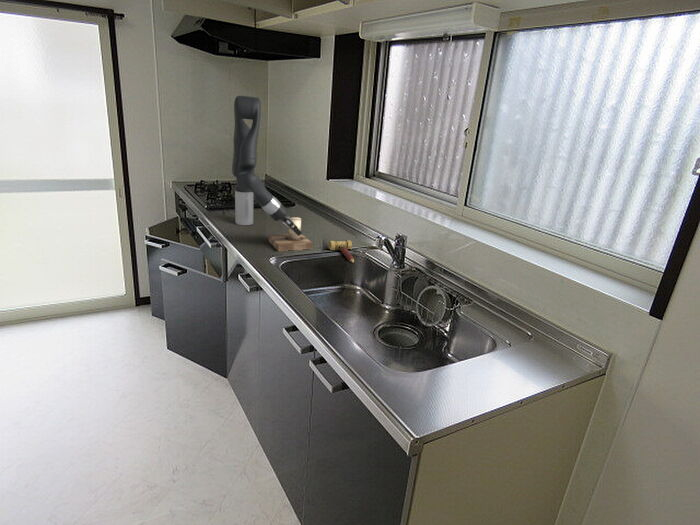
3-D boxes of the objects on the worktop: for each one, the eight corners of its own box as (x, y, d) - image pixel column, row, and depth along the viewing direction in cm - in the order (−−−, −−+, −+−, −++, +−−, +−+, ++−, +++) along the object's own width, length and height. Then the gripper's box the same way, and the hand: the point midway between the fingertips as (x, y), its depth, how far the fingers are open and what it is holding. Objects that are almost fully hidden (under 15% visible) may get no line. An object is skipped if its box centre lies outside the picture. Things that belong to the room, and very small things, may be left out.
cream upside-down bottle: (286, 242, 209) (287, 217, 205) (297, 241, 211) (298, 217, 207) (290, 246, 204) (291, 220, 200) (301, 245, 207) (303, 220, 203)
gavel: (364, 256, 191) (342, 257, 188) (363, 266, 193) (341, 267, 190) (349, 238, 209) (329, 239, 206) (348, 247, 211) (328, 248, 208)
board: (268, 240, 211) (268, 234, 210) (300, 239, 217) (300, 233, 216) (278, 251, 197) (278, 245, 196) (312, 249, 204) (312, 243, 203)
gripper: (284, 205, 192) (308, 230, 201) (275, 198, 204) (297, 221, 213) (272, 218, 192) (296, 242, 200) (263, 210, 204) (286, 233, 212)
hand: (297, 231), depth 207 cm, fingers open, 8 cm apart
